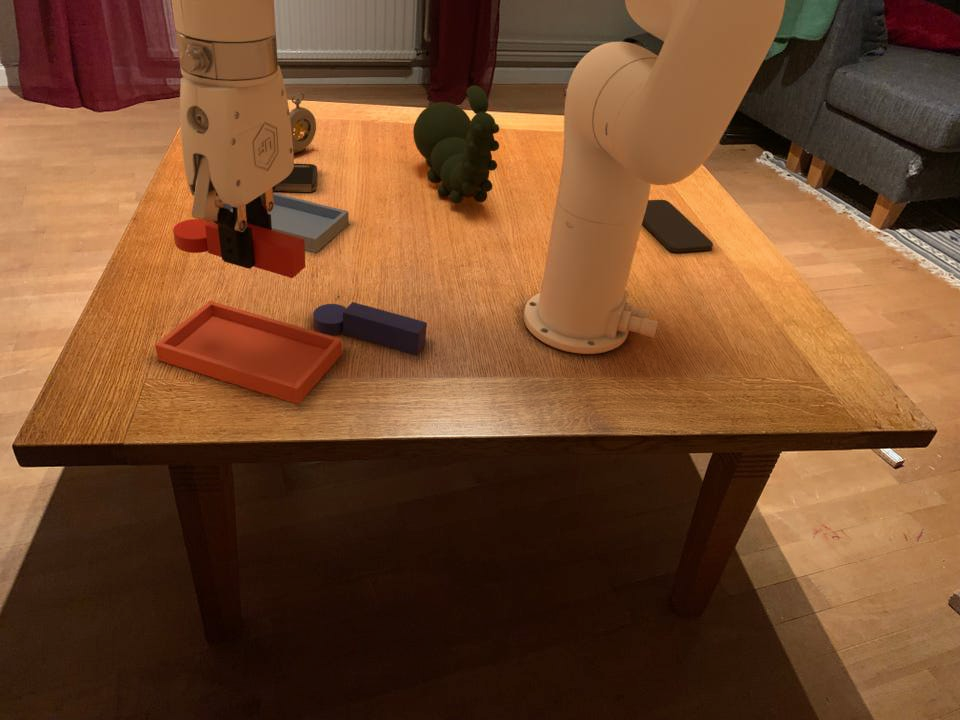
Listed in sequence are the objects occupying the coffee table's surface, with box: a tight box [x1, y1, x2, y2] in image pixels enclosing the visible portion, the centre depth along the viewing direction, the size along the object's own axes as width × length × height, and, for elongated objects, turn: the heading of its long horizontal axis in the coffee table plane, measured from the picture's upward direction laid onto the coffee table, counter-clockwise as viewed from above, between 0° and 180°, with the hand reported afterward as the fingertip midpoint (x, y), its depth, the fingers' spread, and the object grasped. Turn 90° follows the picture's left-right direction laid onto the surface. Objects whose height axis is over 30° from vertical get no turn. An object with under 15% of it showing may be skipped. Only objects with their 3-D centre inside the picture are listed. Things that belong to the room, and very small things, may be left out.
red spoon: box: [172, 218, 306, 279], centre depth 69 cm, size 13×4×3 cm, turn 71°
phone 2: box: [642, 199, 714, 253], centre depth 111 cm, size 7×1×15 cm
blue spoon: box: [312, 301, 428, 356], centre depth 82 cm, size 13×4×3 cm, turn 71°
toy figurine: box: [412, 85, 500, 205], centre depth 111 cm, size 9×19×25 cm
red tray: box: [154, 300, 343, 405], centre depth 77 cm, size 16×9×2 cm, turn 71°
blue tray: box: [224, 192, 350, 254], centre depth 100 cm, size 16×9×2 cm, turn 71°
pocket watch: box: [289, 92, 317, 154], centre depth 118 cm, size 8×8×10 cm
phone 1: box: [274, 163, 318, 193], centre depth 111 cm, size 8×1×15 cm
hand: (248, 255), depth 70 cm, fingers closed on red spoon, 2 cm apart
